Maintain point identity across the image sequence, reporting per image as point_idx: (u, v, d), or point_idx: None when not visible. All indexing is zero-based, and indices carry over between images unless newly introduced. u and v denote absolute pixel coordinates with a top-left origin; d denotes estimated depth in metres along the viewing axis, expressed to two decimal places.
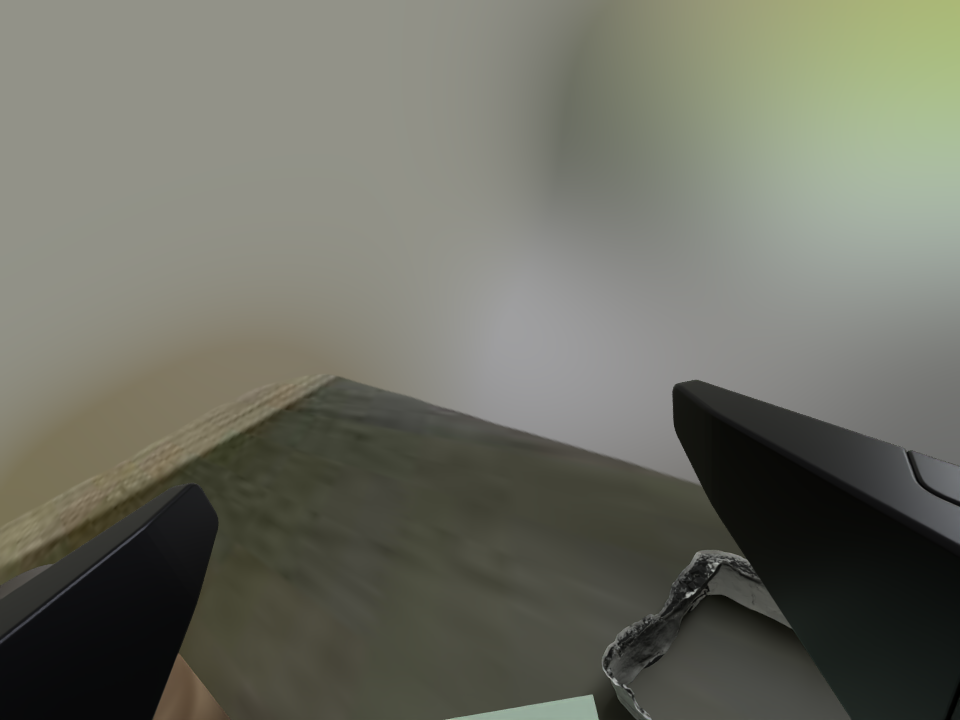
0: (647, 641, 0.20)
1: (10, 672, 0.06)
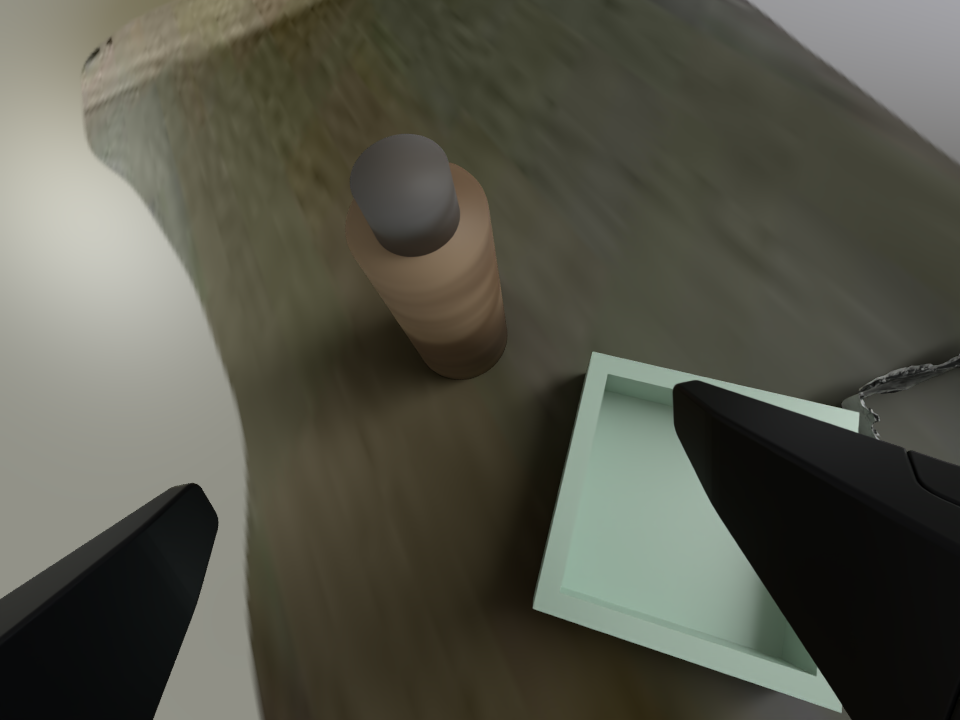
0: (905, 380, 0.20)
1: (11, 672, 0.06)
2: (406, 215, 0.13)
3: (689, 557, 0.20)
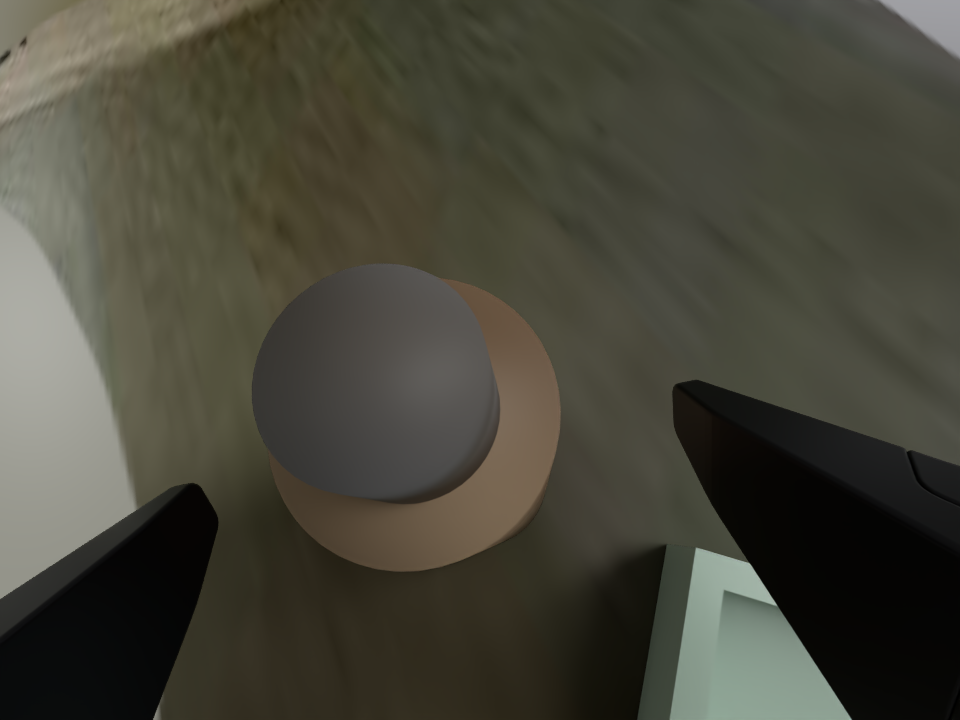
0: None
1: (10, 672, 0.06)
2: (382, 491, 0.05)
3: None
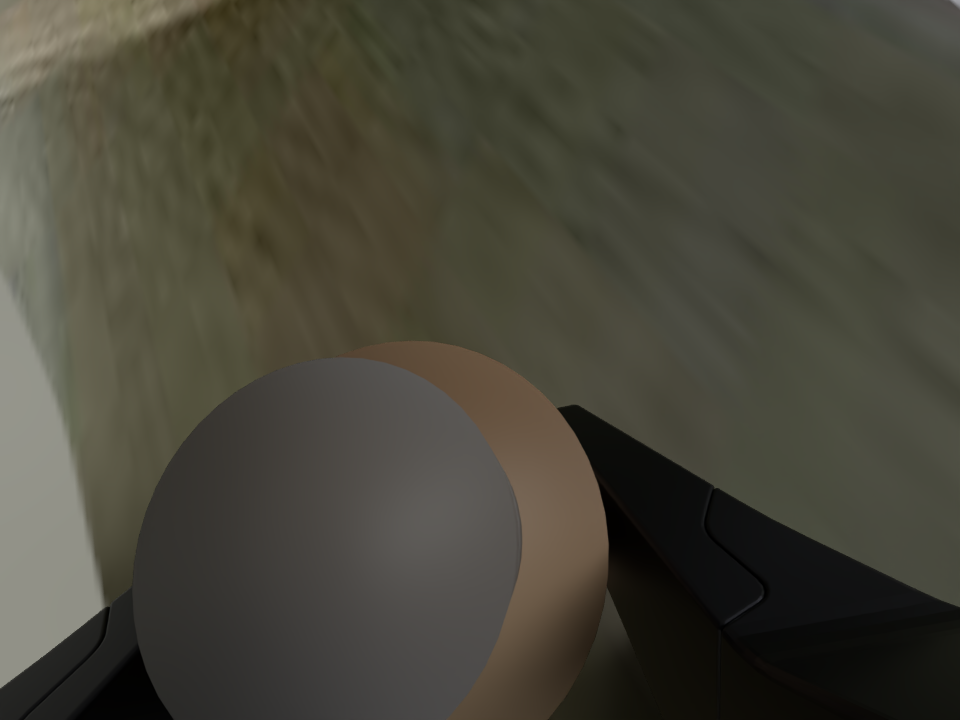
0: None
1: None
2: None
3: None
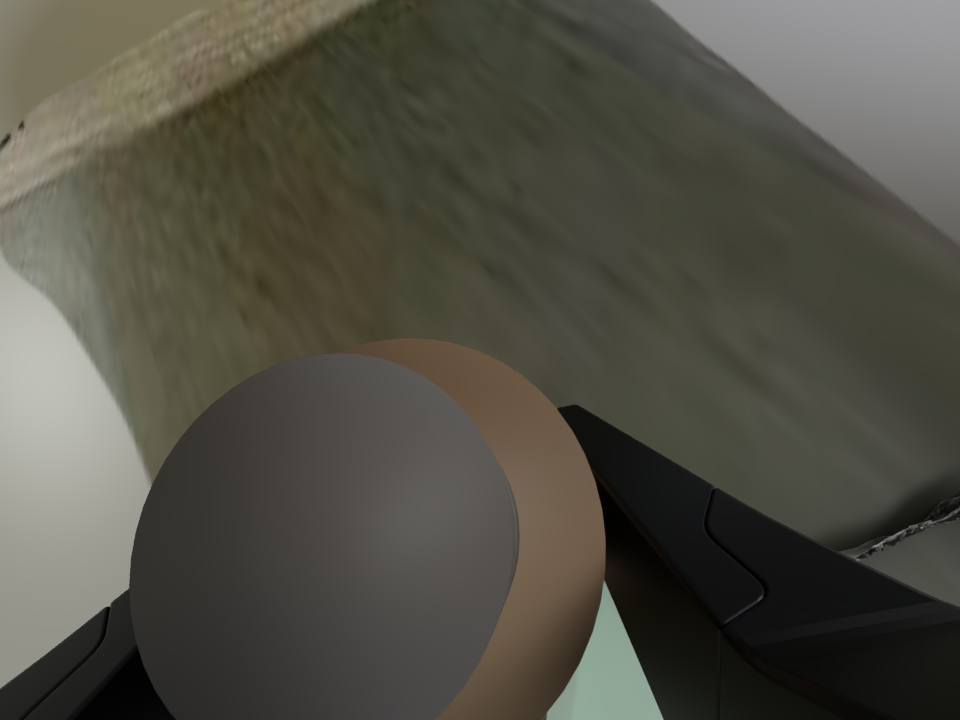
0: None
1: None
2: None
3: None
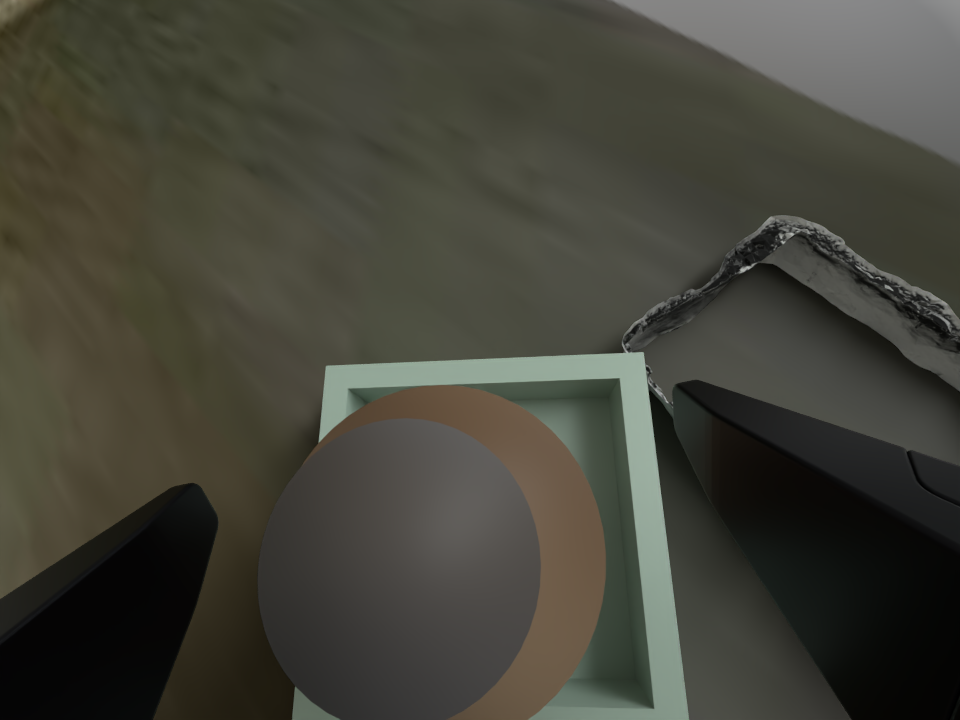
0: (676, 315, 0.17)
1: (10, 673, 0.06)
2: None
3: None
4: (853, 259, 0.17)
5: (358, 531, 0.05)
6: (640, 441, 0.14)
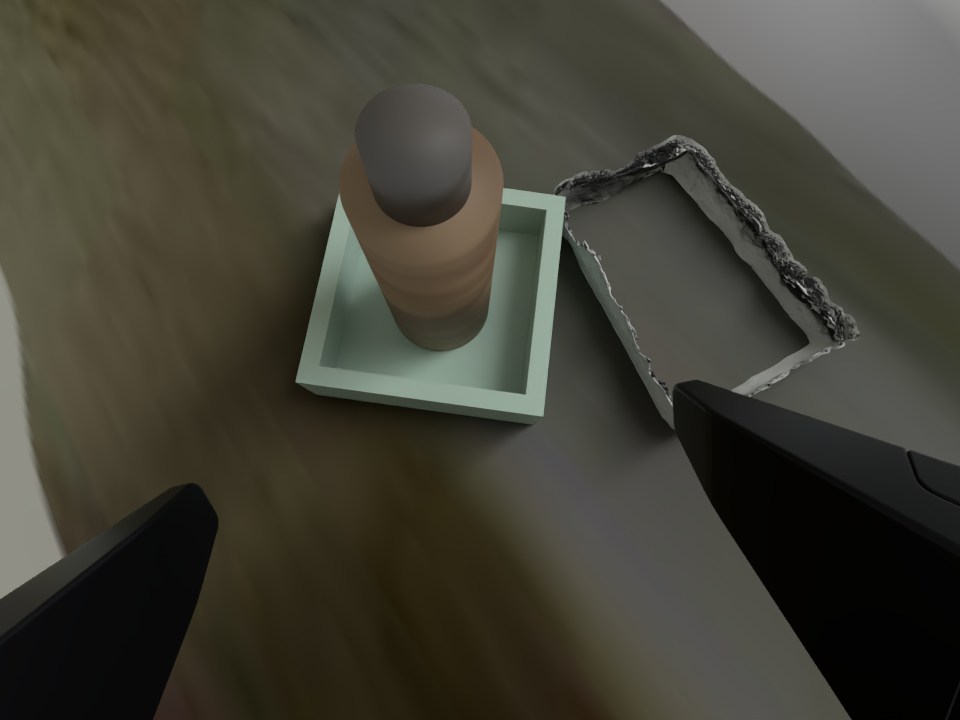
0: (595, 188, 0.25)
1: (10, 673, 0.06)
2: (414, 183, 0.11)
3: None
4: (717, 174, 0.24)
5: (399, 120, 0.12)
6: (551, 249, 0.22)
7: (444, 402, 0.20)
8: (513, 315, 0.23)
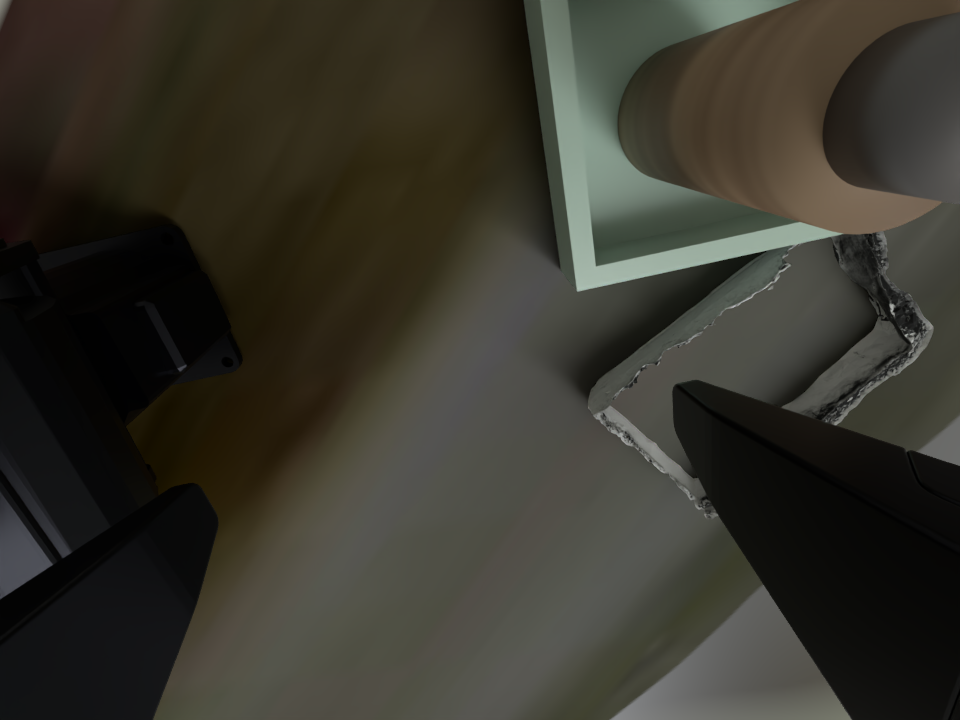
0: (860, 255, 0.20)
1: (10, 672, 0.06)
2: (911, 144, 0.07)
3: None
4: (878, 379, 0.22)
5: None
6: (775, 238, 0.18)
7: (563, 179, 0.17)
8: (681, 210, 0.20)
